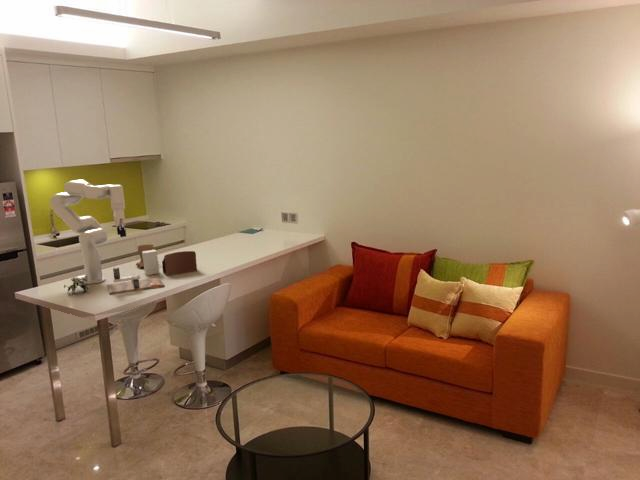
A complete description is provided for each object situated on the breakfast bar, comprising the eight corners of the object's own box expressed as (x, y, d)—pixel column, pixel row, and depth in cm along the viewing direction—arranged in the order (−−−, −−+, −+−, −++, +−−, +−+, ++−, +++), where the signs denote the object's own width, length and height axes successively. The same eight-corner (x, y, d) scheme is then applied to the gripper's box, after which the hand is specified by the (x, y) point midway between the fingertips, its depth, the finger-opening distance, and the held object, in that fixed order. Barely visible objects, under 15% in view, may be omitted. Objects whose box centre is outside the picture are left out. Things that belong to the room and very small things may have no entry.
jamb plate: (109, 294, 303) (108, 284, 302) (107, 286, 319) (106, 277, 318) (164, 286, 316) (163, 277, 315) (159, 279, 332) (158, 270, 331)
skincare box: (157, 271, 351) (155, 249, 348) (159, 273, 346) (157, 250, 342) (144, 273, 347) (141, 250, 344) (146, 275, 342) (143, 252, 339)
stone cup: (150, 262, 377) (148, 241, 374) (161, 264, 370) (159, 242, 367) (131, 266, 365) (129, 245, 362) (141, 269, 358) (139, 247, 355)
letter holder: (197, 271, 349) (195, 250, 346) (166, 276, 340) (164, 254, 337) (193, 268, 357) (191, 247, 354) (162, 272, 349) (160, 251, 346)
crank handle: (139, 277, 314) (138, 264, 312) (140, 279, 310) (139, 266, 309) (113, 281, 308) (111, 268, 307) (114, 282, 304) (112, 269, 303)
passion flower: (86, 300, 312) (94, 285, 308) (68, 302, 303) (76, 286, 299) (76, 287, 317) (84, 272, 313) (59, 288, 308) (67, 273, 303)
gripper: (109, 205, 319) (112, 234, 322) (113, 208, 304) (117, 238, 307) (122, 204, 322) (126, 232, 325) (127, 207, 307) (131, 236, 311)
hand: (121, 235), depth 316 cm, fingers open, 9 cm apart
